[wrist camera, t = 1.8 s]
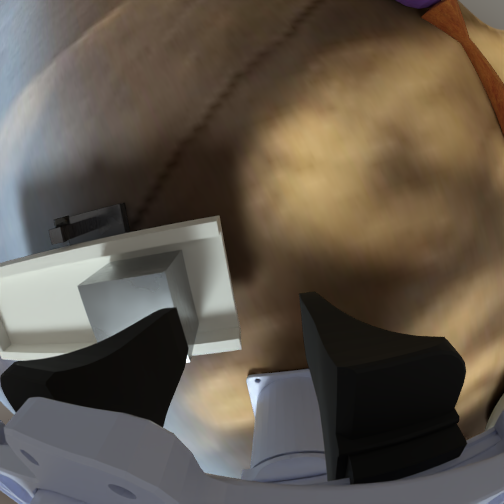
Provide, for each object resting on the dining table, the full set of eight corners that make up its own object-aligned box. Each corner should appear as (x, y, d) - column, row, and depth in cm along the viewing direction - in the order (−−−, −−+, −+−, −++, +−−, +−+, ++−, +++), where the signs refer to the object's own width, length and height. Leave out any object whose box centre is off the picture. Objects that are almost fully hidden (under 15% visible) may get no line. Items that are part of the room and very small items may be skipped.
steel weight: (181, 249, 17) (164, 271, 13) (199, 323, 19) (189, 362, 14) (109, 262, 17) (77, 285, 13) (130, 330, 19) (107, 367, 14)
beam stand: (124, 201, 21) (84, 211, 16) (160, 341, 24) (136, 378, 19) (69, 215, 22) (27, 228, 16) (106, 341, 25) (77, 373, 19)
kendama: (524, 166, 14) (367, -52, 10) (487, 154, 20) (355, -21, 15) (555, 133, 12) (414, -69, 7) (518, 125, 17) (396, -42, 13)
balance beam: (219, 215, 18) (216, 221, 16) (240, 328, 20) (241, 349, 18) (-12, 266, 18) (-31, 275, 15) (16, 345, 20) (2, 359, 17)
